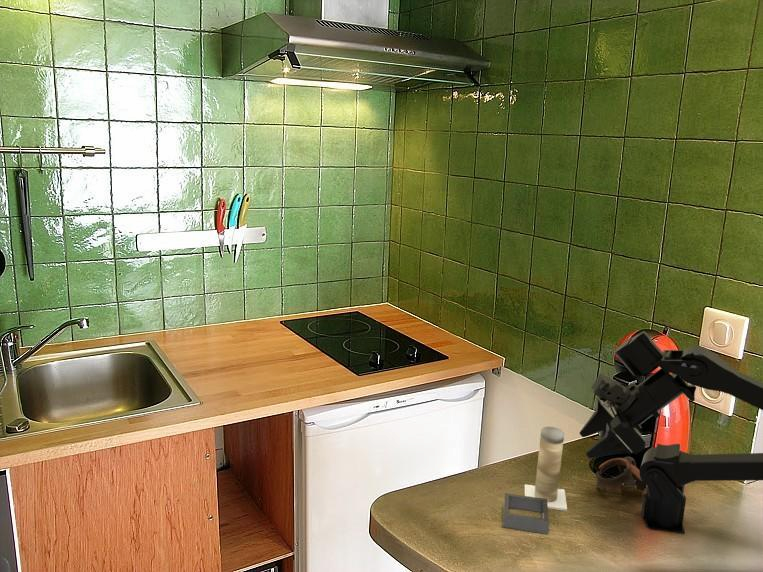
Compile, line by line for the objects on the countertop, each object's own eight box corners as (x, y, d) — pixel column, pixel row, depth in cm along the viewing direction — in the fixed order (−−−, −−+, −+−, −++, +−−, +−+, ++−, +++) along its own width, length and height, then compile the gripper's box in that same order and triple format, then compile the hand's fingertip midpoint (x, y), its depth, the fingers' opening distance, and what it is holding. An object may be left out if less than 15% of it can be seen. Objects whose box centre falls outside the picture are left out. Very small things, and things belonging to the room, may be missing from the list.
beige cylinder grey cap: (556, 492, 127) (563, 428, 124) (557, 503, 123) (565, 437, 120) (534, 489, 128) (540, 425, 125) (534, 500, 124) (541, 434, 121)
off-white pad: (564, 491, 128) (564, 489, 128) (567, 511, 121) (567, 509, 121) (524, 486, 130) (524, 484, 130) (524, 505, 123) (524, 503, 123)
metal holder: (545, 510, 121) (547, 498, 121) (547, 534, 113) (548, 521, 113) (503, 504, 123) (504, 493, 122) (502, 527, 115) (503, 514, 114)
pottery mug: (649, 513, 122) (632, 479, 121) (603, 518, 128) (586, 485, 126) (656, 474, 132) (640, 442, 130) (612, 480, 137) (596, 449, 136)
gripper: (613, 349, 124) (551, 396, 128) (632, 380, 106) (560, 434, 110) (650, 390, 124) (587, 436, 128) (676, 428, 106) (602, 480, 110)
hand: (584, 445), depth 119 cm, fingers open, 9 cm apart
